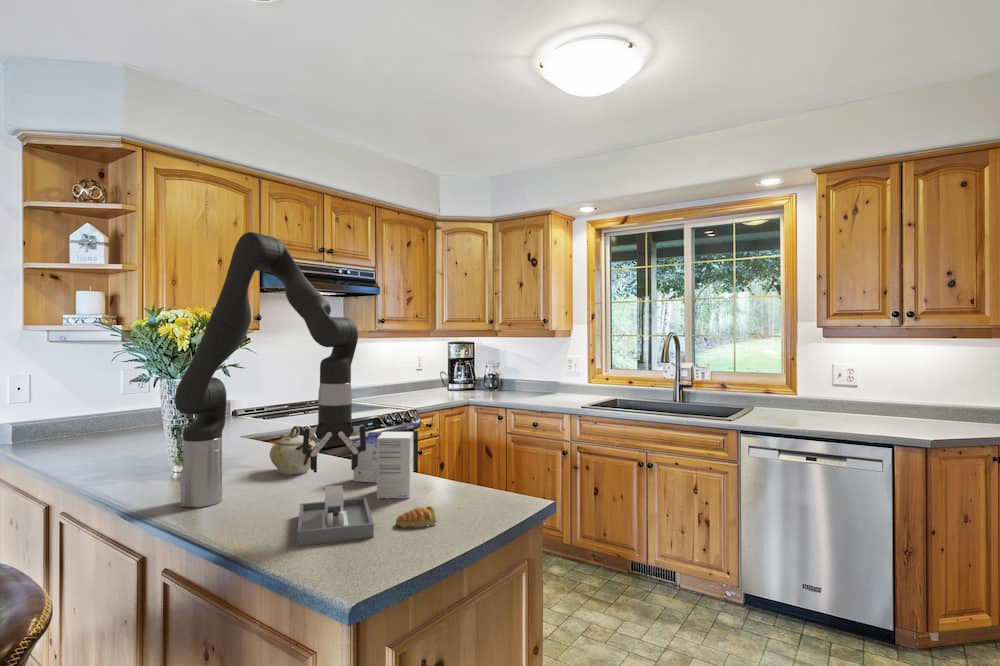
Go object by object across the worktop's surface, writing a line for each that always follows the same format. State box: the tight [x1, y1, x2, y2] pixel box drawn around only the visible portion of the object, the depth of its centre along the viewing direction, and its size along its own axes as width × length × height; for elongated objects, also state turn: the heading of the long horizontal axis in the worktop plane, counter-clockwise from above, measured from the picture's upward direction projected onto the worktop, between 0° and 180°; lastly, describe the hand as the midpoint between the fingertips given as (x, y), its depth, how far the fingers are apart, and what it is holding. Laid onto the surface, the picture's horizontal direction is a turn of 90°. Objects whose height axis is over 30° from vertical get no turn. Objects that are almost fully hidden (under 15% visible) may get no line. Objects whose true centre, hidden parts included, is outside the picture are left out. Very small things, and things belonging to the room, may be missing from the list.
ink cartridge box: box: [353, 431, 380, 484], centre depth 166 cm, size 10×6×14 cm, turn 78°
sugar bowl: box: [269, 425, 320, 476], centre depth 176 cm, size 20×15×15 cm
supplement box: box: [376, 431, 414, 500], centre depth 153 cm, size 10×9×17 cm
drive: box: [324, 484, 344, 526], centre depth 127 cm, size 4×9×6 cm, turn 18°
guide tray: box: [296, 497, 375, 547], centre depth 128 cm, size 16×20×5 cm
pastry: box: [395, 505, 438, 529], centre depth 129 cm, size 9×7×4 cm
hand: (334, 470), depth 128 cm, fingers open, 8 cm apart
